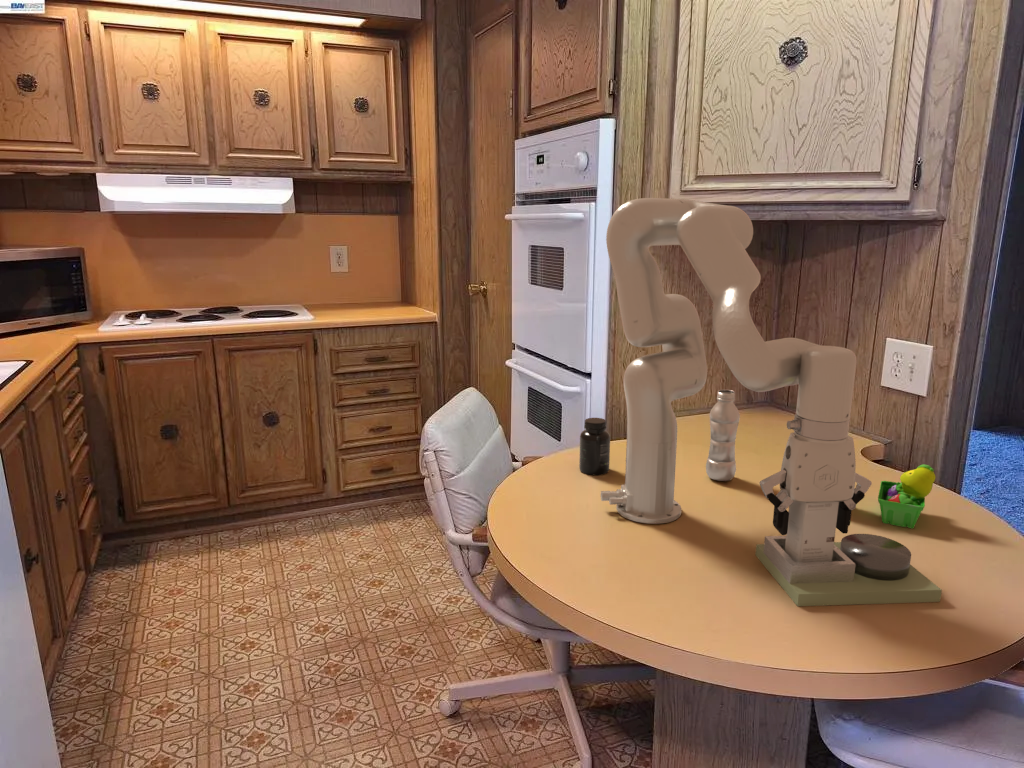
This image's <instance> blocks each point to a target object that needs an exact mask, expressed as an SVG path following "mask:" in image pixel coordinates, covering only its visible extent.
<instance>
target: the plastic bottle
mask: <svg viewBox="0 0 1024 768" xmlns="http://www.w3.org/2000/svg"><path fill="white" fill-rule="evenodd" d="M716 401H717V402H716V403H715V404H714V405H713V407H712V408H711V410H710V411H709V426H710V427H709V428H710V442H709V444H710V445H709V450H708V457H707V459H706V463H705V471H706V475H707V476H708V478H709V479H712V480H714V481H718V482H720V481H721V482H729V481H731V480H732V479H733V478H735V475H736V471H737V465H736V464H737V463H736V438H737V433H738V432H737V431H738V427H739V425H740V424H739V423H740V420H741V414H740V411H739V409H738V408H737V406H736V405H735V403H734V402H735V401H736V392H735V391H734V390H732V389H719V390H717V396H716Z"/></svg>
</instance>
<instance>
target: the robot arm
mask: <svg viewBox="0 0 1024 768" xmlns="http://www.w3.org/2000/svg"><path fill="white" fill-rule="evenodd" d="M753 236H754V226H753V222H752V219H751V218H750V217H749V214H747V213H746V211H744V210H743V209H741V208H740V207H737V206H735V205H726V204H719V203H712V202H707V201H700V200H696V199H695V200H694V199H690V198H689V199H687V198H668V197H667V198H663V197H642V198H641V197H640V198H636V199H632V200H631V199H630V200H628V201H626V202H625V203H623V204H621V205H620V206H619V207H618V208H617V209H616V210H615V211H614V213H612V216H611V218H610V220H609V223H608V226H607V229H606V237H605V238H606V239H605V241H606V248H607V253H608V258H609V261H610V264H611V268H612V272H613V275H614V279H615V285H616V286H615V287H616V292H617V299H618V305H619V312H620V313H619V314H620V318H621V323H622V329H623V330H622V331H623V334H624V336H625V338H626V341H627V342H628V343H629V344H630V345H632V346H634V347H636V348H637V347H638V348H650V347H657V346H661V348H662V351H660V352H654V353H649V354H644V355H642V356H639V357H638V358H637V357H636V358H635V359H634V360H632V361H631V362H630V363H629V364H628V365H627V367H626V369H625V371H624V373H623V379H622V380H623V391H624V395H625V396H624V397H625V403H626V420H627V421H626V448H625V450H626V451H625V475H624V478H625V480H624V484H621V487H620V488H619V489H616V491H614V490H611V491H610V490H601V491H600V500H601V501H602V502H606V501H607V502H608V503H609V505H616V511H617V513H618V514H619V515H620V516H622V517H623V518H626V519H627V520H629V521H632V522H637V523H640V524H649V525H652V524H654V525H655V524H657V525H658V524H667V523H670V522H673V521H675V520H677V519H679V518H681V514H682V507H681V504H680V503H679V502H678V501H676V500H675V482H676V481H675V480H676V466H677V465H676V464H677V463H676V462H677V461H676V460H677V447H678V445H677V444H678V422H677V417H676V414H675V412H674V409H673V407H672V402H673V401H676V400H680V399H684V398H687V397H691V396H694V395H696V394H698V393H699V392H701V391H702V389H703V388H704V387H705V385H706V382H707V378H708V363H707V357H706V350H705V344H704V338H703V330H702V325H701V320H700V319H701V318H700V316H699V313H698V310H697V307H696V306H695V305H694V304H693V302H692V301H691V300H690V299H689V298H688V297H686V296H684V295H682V294H677V293H667V294H666V293H665V289H664V286H663V278H662V273H661V270H660V267H659V264H658V262H657V261H656V259H655V257H654V256H653V254H652V253H651V252H650V250H649V249H650V247H653V246H655V247H656V246H659V247H660V246H680V247H681V249H682V250H683V252H684V254H685V255H686V257H687V259H688V261H689V262H690V265H691V266H692V268H693V270H694V271H695V272H696V273H695V274H697V276H698V278H699V280H700V281H701V283H702V285H703V286H704V288H705V290H706V292H707V294H708V295H709V297H710V299H711V302H712V311H711V312H712V314H711V317H712V318H711V320H712V328H713V329H712V330H713V337H714V340H715V344H716V347H717V348H718V350H719V351H718V352H719V353H720V355H721V356H722V358H723V360H724V361H725V363H726V365H727V367H728V368H729V370H730V371H731V373H732V375H733V376H734V378H736V380H737V381H738V382H739V383H740V384H741V385H742V386H743V387H745V388H746V389H748V390H750V391H753V392H756V393H764V392H769V391H773V390H777V389H780V388H783V387H790V386H796V385H798V391H797V400H796V410H795V414H794V418H793V419H792V420H787V421H786V428H787V430H793V432H790V434H789V436H788V439H787V442H786V444H785V449H784V453H783V456H782V462H781V468H780V470H779V471H778V472H776V473H773V474H772V475H770V476H768V477H766V478H763V479H761V480H760V481H759V482H758V483H759V486H760V488H761V490H762V493H763V494H764V498H766V499H767V500H768V502H770V503H771V504H772V506H774V507H773V515H772V516H773V517H772V526H773V527H774V528H775V529H776V530H777V532H778V533H779V534H780V536H786V534H787V531H788V520H789V510H787V509H789V506H790V505H791V504H792V503H793V502H794V501H795V502H802V503H808V502H839V505H838V514H837V522H836V529H837V530H838V531H839V532H840V533H842V534H848V531H849V526H850V525H851V519H852V512H853V511H854V510H855V509H856V508H857V504H858V503H860V502H861V501H862V500H863V499H864V498H865V496H866V495H865V494H866V493H867V492H868V491H869V488H870V487H871V486H872V484H873V483H872V481H871V480H869V478H868V477H865V476H863V475H862V474H860V473H857V472H856V468H857V467H856V466H857V465H856V464H857V463H856V449H855V441H854V438H853V437H852V436H850V435H849V432H850V431H849V430H850V422H851V413H852V407H853V406H852V404H853V395H854V387H855V381H856V380H855V379H856V370H857V356H856V354H855V352H854V351H853V350H852V349H848V348H846V347H844V346H838V345H837V346H834V345H820V344H819V343H818V344H817V343H814V342H811V341H808V340H805V339H802V338H797V337H783V338H779V339H778V338H777V339H773V340H767V341H765V340H764V338H763V337H762V335H761V334H760V332H759V330H758V328H757V327H756V325H755V322H754V321H753V318H752V315H751V312H750V299H751V295H752V293H753V292H754V291H755V290H756V289H757V288H758V286H759V285H760V283H761V278H762V276H761V273H760V271H759V269H758V268H757V266H756V265H755V263H754V262H753V260H752V259H751V257H750V255H749V254H748V252H747V248H748V247H749V246H750V244H751V243H752V240H753ZM778 485H779V489H780V490H779V492H778V493H776V495H775V493H774V487H776V486H778Z"/></svg>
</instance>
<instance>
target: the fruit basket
mask: <svg viewBox="0 0 1024 768" xmlns="http://www.w3.org/2000/svg"><path fill="white" fill-rule="evenodd" d="M934 471H935V469H934V468H933V467H932V466H930V465H929V464H921V465H919V466H917V468H915V469H911V470H907V471H905V472H903V473H902V474H901V475H900V477H899V479H900V480H899V481H900V482H899V481H898V482H894V481H892V480H891V481H889V480H888V481H887V480H882V481H880V485H879V490H878V491H879V492H878V496H877V501H878V504H879V508H880V517H881V522H882V523H883V524H886V525H893V526H897V527H900V528H901V527H903V528H909V529H915V527H916V526H915V525H916V524H917V522H918V519H919V517H920V515H921V513H922V512H923V511H924V509H925V506H926V505H925V504H926V500H925V498H926V497H927V496H929V494H930V493H931V492H932V490H933V489H932V488H933V485H934V482H935V480H936V474H935V472H934Z"/></svg>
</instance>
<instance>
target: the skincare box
mask: <svg viewBox="0 0 1024 768" xmlns="http://www.w3.org/2000/svg"><path fill="white" fill-rule="evenodd" d="M838 505H839V502H808V503H802V502H795V501H794V502H793V503H792V504H791V505H790V506H789V507H788V512H789V520H788V531H787V534H786V535H785V536H786V542H785V552H786V553H787V554H788V555H789V557H790V558H791V559H792V560H793V561H794V562H795V563H800V562H832V557H833V548H834V542H835V539H836V529H837V528H836V522H837V514H838Z"/></svg>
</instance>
